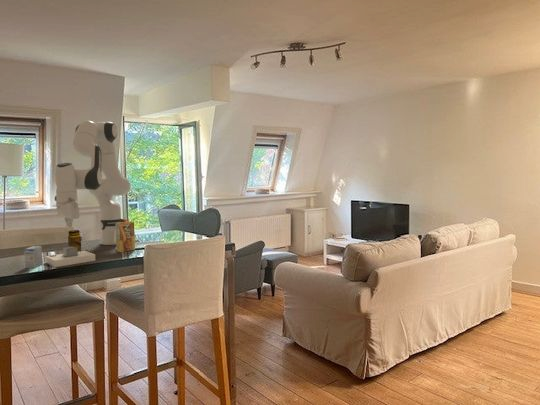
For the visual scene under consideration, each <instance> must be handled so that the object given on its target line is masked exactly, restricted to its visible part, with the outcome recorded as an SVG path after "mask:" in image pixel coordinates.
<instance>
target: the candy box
mask: <svg viewBox="0 0 540 405" xmlns="http://www.w3.org/2000/svg"><path fill="white" fill-rule="evenodd" d="M115 224H116V252H117V253H124V252H129V251H135V250H136V242H135V237H136V234H134V233H135V222H134V221H132V220H131V221H128V220H127V222H120V223H115Z"/></svg>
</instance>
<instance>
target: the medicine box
mask: <svg viewBox="0 0 540 405" xmlns="http://www.w3.org/2000/svg"><path fill="white" fill-rule="evenodd" d="M23 251H24V252H23V255H24V267H25V269H35V268H37V267H39V266H42V265H43V263H44V262H43V261H44V260H43V247H42V246H41V245H33V246H29V247H27V248H24V249H23Z"/></svg>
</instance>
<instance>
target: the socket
mask: <svg viewBox="0 0 540 405" xmlns="http://www.w3.org/2000/svg"><path fill="white" fill-rule="evenodd" d="M95 261H96V254H95V253H92V252H89V251H87V250H81V251H79V252H78V256H72V257H63V253H59V254H52V255H46V256H45V263H46V264H47V265H50V266H52V267H54V268H59V267H64V266H70V265H71V266H72V265H77V264H82V263H84V264H85V263H90V262H95Z"/></svg>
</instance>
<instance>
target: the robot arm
mask: <svg viewBox="0 0 540 405" xmlns="http://www.w3.org/2000/svg"><path fill="white" fill-rule="evenodd" d="M116 138H118V129H117V126H116V124H115V123H114V122H112V121H91V120H83V121H81V123H80V124H78V125H77V126H76V127H75V134H74V136H73V139H72V146H73V148H74V150H75V152H77V154H79V155H82V156H84V157H87V158H91V160H90V163H91V164H90V168H87V169H76V168H75V166H74V164H73V163H71V162H63V163H58V164H56V166H55V170H54V183H55V186H56V188H55V189H56V190H55V193H56V194H55V196H54V201H55V205H56V211H57V215H58V217H62V218H64V222H65V226H66V227H67V228H73V220H74V219H75V220H76V219H79V218H80V208H79V204H78V190H89V191H88V192H89V193H90V194H91V195H93V196H94V197H95V199H96V201H97V203H98V204H99V209H100V229H101V230H100V231H101V232H100V241H99V245H104V246H108V245H109V246H110V245H111V246H115V245H116V224H115V223H120V222H128V219H126V218H124V219H123V218H122V212H121V211H122V210H121V209H122V208H121V204H119V203H118V202H117V201H115V199H114V198H113V196H114V197H115V196H116V197H117V196H119V197H120V196H123V195H127V194H129V192H130V191H131V183H130V181H129V179H128V178H126V177H125V176H124V175H123V174H122V172H121V170H120V169H119V166H118V163H117V156H116V148H115V144H114V141H115V140H116ZM102 173H103V174H104V176H103V177H102ZM134 234H135V232H134ZM135 235H136V234H135ZM136 242H140V238H139V237H136V236H135V243H136ZM116 246H117V245H116Z"/></svg>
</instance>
